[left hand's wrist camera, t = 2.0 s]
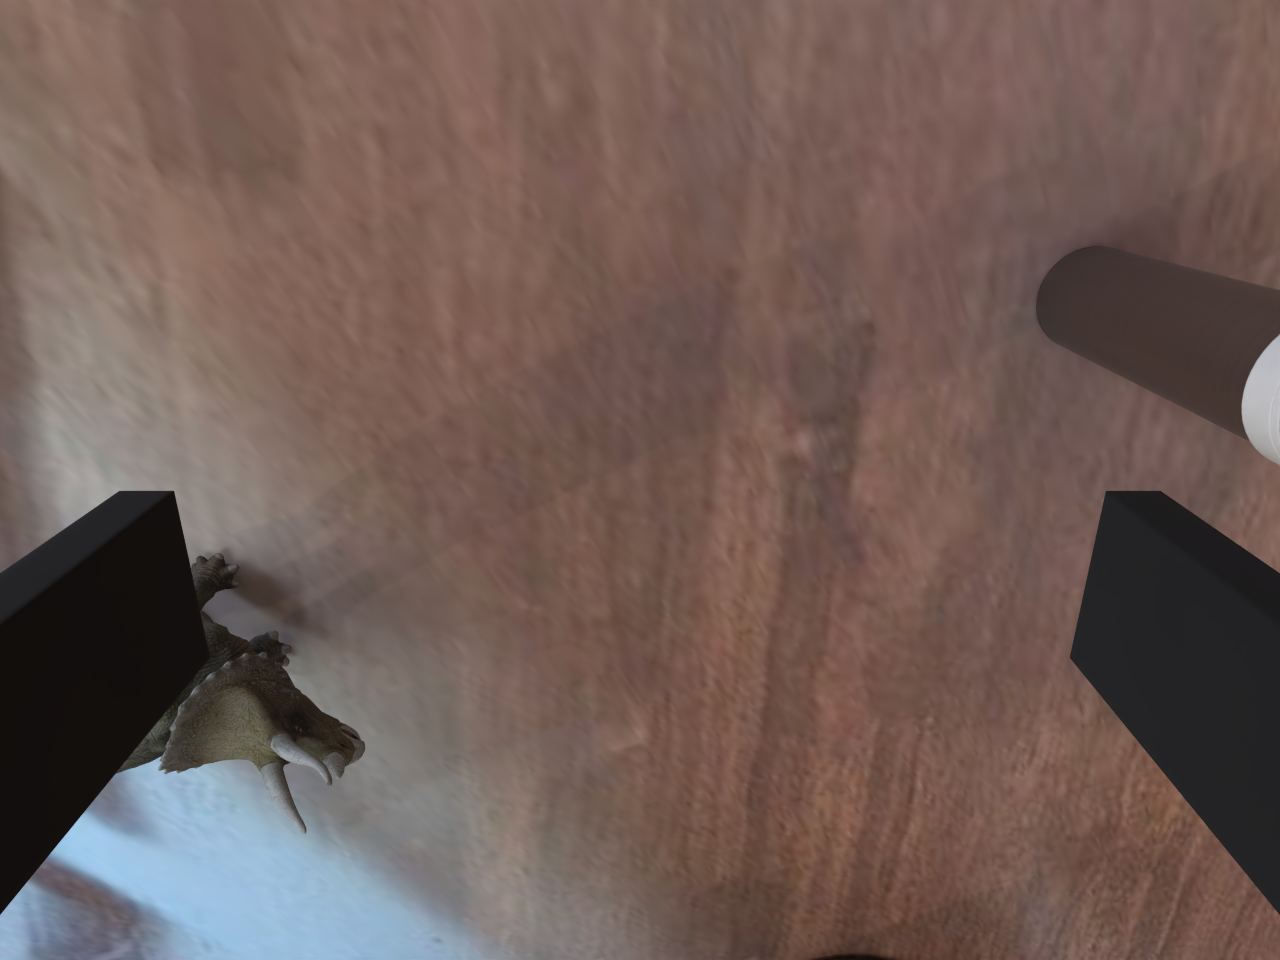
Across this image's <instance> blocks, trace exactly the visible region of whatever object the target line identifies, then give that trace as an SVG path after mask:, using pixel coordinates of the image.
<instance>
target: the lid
mask: <svg viewBox="0 0 1280 960" xmlns="http://www.w3.org/2000/svg"><path fill="white" fill-rule="evenodd" d="M1242 420H1243V425H1244V428H1245V431H1246V434H1247V436H1248V438H1249V440H1250V442H1251V443H1252V444H1253V446H1254V447H1255V448H1256V449H1257V450H1258V451H1259V452H1260V453H1261V454H1262V455H1263V456H1265V457H1266V458H1267V459H1269V460H1271V461H1272V462H1274V463H1276V464H1278V465H1280V335H1279V336H1277V337H1276V338H1275V339H1274V340H1273V341H1272V342H1271V343H1270V345H1269V346H1268V347H1267V348H1266V349H1265V350H1264V352H1263V353H1262V354H1261V356H1260V357H1259V358H1258V360H1257V361H1256V363H1255V365H1254V367H1253V368H1252V370H1251V372H1250V375H1249V377H1248V379H1247V382H1246V385H1245V389H1244V392H1243V398H1242Z"/></svg>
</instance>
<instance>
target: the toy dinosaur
mask: <svg viewBox="0 0 1280 960" xmlns="http://www.w3.org/2000/svg"><path fill="white" fill-rule="evenodd" d="M191 569H192V573H193V581H194V586H195V590H196V595H197V599H198V604H199V609H200V613H201V618H202V622H203V627H204V632H205V636H206V641H207V645H208V650H209V655H210V658H209V660H208V661H207V662H206V663H205V665H204V666H203V667H202V668H201V670H200V671H199V672H198V673H197V674H196V676H195V677H194V678H193V679H192V681H191V682H190V683H189V684H188V685H187V687H186V688H185V689H184V690H183V692H182V693H181V694H180V695H179V696H178V698H177V699H176V700H175V701H174V703H173V704H172V705H171V706H170V707H169V709H168V710H167V711H166V712H165V714H164V715H163V716H162V717H161V718H160V720H159V721H158V722H157V723H156V725H155V726H154V727H153V728H152V729H151V731H150V732H149V733H148V734H147V736H146V737H145V738H144V739H143V741H142V742H141V743H140V744H139V745H138V747H137V748H136V749H135V750H134V752H133V753H132V754H131V755H130V756H129V758H128V759H127V760H126V761H125V763H124V764H123V765H122V766H121V767H120V769H119V770H118V771H117V772H116V773H119V772H122V771H124V770H127V769H131V768H135V767H138V766H140V765H143V764H146V763H149V762H151V761H153V760H155V759H157V758H159V757H161V756H162V757H161V759H160V761H162V763H161V765H160V766H159V768H158V771H160V770H164V769H166V770H165V772H164V774H167V773H170V772H172V771H175V770H177V773H180V772H182V771H185V770H187V769H189V768H198V767H200V766H202V765H203V764H207V763H214V762H218V761H222V760H231V759H243V760H250V761H252V762H253V763H254V764H255V765H256V766H257V768H258V770H259V771H260V772H261V774H262V776H263V779H264V781H265V784H266V786H267V788H268V790H269V792H270V794H271V796H272V798H273V800H274V801H275V803H276V804H277V806H278V807H279V809H280V810H281V811H282V812H283V813H284V814H285V815H286V816H287V817H288V818H289V819H290V820H291V822H292V823H293V824H294V825H295V826H296V827H297V828H298V829H299V830H300V831H301V832H302V833H304V834H305V833H306V826H305V824H304V822H303V820H302V818H301V817H300V815H299V813H298V811H297V809H296V806H295V804H294V802H293V799H292V796H291V794H290V791H289V788H288V785H287V782H286V778H285V775H284V771H283V766H284V765H286V764H288V763H290V762H292V763H295V764H300V765H305V766H310V767H312V768H314V769H316V770H317V771H318V772H319V773H320V774H321V775H322V777H323V778H324V780H325V782H326V784H327V786H328V787H332V778H331V775H330V773H331V774H332V775H333V777H334V778H336V779H339V778H340V777H341V776H342V775H343V773H344V768H345V766H347V765H349V764H351V763H354V762H355V761H357V760H359V759H360V758H361V757H362V755H363V753H364V751H365V743H364V741H361V739H360V736H359V735H358V733H357V732H356V731H355V730H354V729H353V728H351V727H349V726H348V725H346V724H343V723H340V722H339V720H338V719H336V718H333V717H331V716H329V715H327V714H325V713H323V712H322V711H321V710H320V709H319V708H318V707H317V706H316V705H315V704H314V703H313V702H312V701H311V700H310V699H309V698H308V697H307V696H305V695H304V694H302V693H301V692H300V690H298V689H297V688H295V686H294V685H293V683H292V681H291V679H290V677H289V675H288V673H287V672H286V671H285V670H284V669H283V668H282V666H287V665H288V664H289V659H288V658H287V656H286V654H287V653H289V652H290V651H291V647H290V646H289V645H286V644H283V643H279V642H278V632H276V631H271V632H267V633H265V634H264V635H259V636H256V637H254V638H253V639H252V640H251V641H250V642H248V641H247V640H245V639H242V638H240V637H237V636H235V635H232V634H230V633H229V631H228V629H227V628H226V627H224V626H221V625H219V624H217V623H214V622H213V621H212V620H211V618H210V617H209V616H208V615H207V614H206V613H204V612H202V611H201V610H202V608H203V606H204V605H205V604H206V602H207V601H209V600H210V599H211V598H212V597H213V596H214V594H215V593H216V592H218V591H221V590H224V589H231V588H235V587H237V586H238V585H239V582H238V581H237V580H236V579H235V578H234V577H233V575H234V574H235V573H236V572H237V571H238V569H239V566H238V565H233V564H230V565H226V564H225V561H224V556H223V555H222V554H219V553H216V554H215V555H214V556H213V557H211V558H210V560H209V561H208V560H207V559H206V558H205V557H203V556H198V557H197V561H196V563H194V564H192V567H191Z"/></svg>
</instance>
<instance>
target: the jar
mask: <svg viewBox="0 0 1280 960" xmlns="http://www.w3.org/2000/svg"><path fill="white" fill-rule="evenodd" d="M1036 309H1037V317H1038V321H1039V323H1040V326H1041V328H1042V330H1043V331H1044V333H1045V334H1046V335H1047V336H1048V337H1049V338H1050V339H1051V340H1052V341H1054V342H1055V343H1057V344H1059V345H1061V346H1063V347H1065V348H1067V349H1069V350H1071V351H1073V352H1075V353H1077V354H1079V355H1081V356H1083V357H1085V358H1087V359H1089V360H1091V361H1093V362H1094V363H1096V364H1098V365H1100V366H1102V367H1104V368H1106V369H1108V370H1110V371H1112V372H1114V373H1116V374H1118V375H1120V376H1122V377H1124V378H1126V379H1128V380H1130V381H1132V382H1134V383H1136V384H1138V385H1140V386H1142V387H1144V388H1146V389H1148V390H1150V391H1152V392H1153V393H1155V394H1157V395H1159V396H1161V397H1163V398H1165V399H1167V400H1169V401H1171V402H1173V403H1175V404H1177V405H1179V406H1181V407H1183V408H1185V409H1187V410H1189V411H1191V412H1193V413H1195V414H1197V415H1199V416H1201V417H1203V418H1205V419H1207V420H1209V421H1211V422H1213V423H1214V424H1216V425H1218V426H1220V427H1222V428H1224V429H1226V430H1228V431H1230V432H1232V433H1234V434H1236V435H1238V436H1240V437H1242V438H1244V439H1246V440H1248V441H1250V440H1249V438H1248V436H1247V434H1246V431H1245V428H1244V425H1243V420H1242V398H1243V392H1244V389H1245V385H1246V382H1247V379H1248V377H1249V375H1250V372H1251V370H1252V368H1253V367H1254V365H1255V363H1256V361H1257V360H1258V358H1259V357H1260V356H1261V354H1262V353H1263V352H1264V350H1265V349H1266V348H1267V347H1268V346H1269V345H1270V343H1271V342H1272V341H1273V340H1274V339H1275V338H1276V337H1277V336H1279V335H1280V290H1277V289H1273V288H1269V287H1265V286H1261V285H1257V284H1253V283H1249V282H1245V281H1241V280H1237V279H1233V278H1229V277H1225V276H1221V275H1217V274H1213V273H1208V272H1204V271H1200V270H1196V269H1192V268H1188V267H1184V266H1180V265H1176V264H1172V263H1168V262H1164V261H1160V260H1156V259H1152V258H1148V257H1144V256H1140V255H1136V254H1132V253H1128V252H1124V251H1120V250H1116V249H1112V248H1107V247H1088V248H1084V249H1081V250H1078V251H1075V252H1073V253H1071V254H1069V255H1068V256H1066V257H1065V258H1063V259H1062V260H1060V261H1059V262H1058V263H1057V264H1056V265H1055V266H1054V267H1053V268H1052V269H1051V270H1050V272H1049V273H1048V274H1047V276H1046V277H1045V279H1044V280H1043V282H1042V285H1041V287H1040V290H1039V293H1038V297H1037V306H1036Z"/></svg>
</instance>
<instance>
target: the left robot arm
mask: <svg viewBox="0 0 1280 960" xmlns="http://www.w3.org/2000/svg"><path fill="white" fill-rule="evenodd" d="M209 658H210V655H209V650H208V645H207V641H206V636H205V632H204V627H203V622H202V618H201V613H200V609H199V604H198V599H197V595H196V590H195V586H194V581H193V576H192V572H191V567H190V563H189V558H188V553H187V549H186V544H185V539H184V535H183V530H182V526H181V521H180V516H179V512H178V507H177V503H176V498H175V493H174V491H119V492H117V493H116V494H114V495H113V496H112V497H110V498H109V499H107V500H106V501H104V502H103V503H101V504H100V505H99V506H97V507H96V508H94V509H93V510H91V511H90V512H88V513H87V514H86V515H84V516H83V517H81V518H80V519H78V520H77V521H75V522H74V523H72V524H71V525H70V526H68V527H67V528H65V529H64V530H62V531H61V532H59V533H58V534H57V535H55V536H54V537H52V538H51V539H49V540H48V541H46V542H45V543H44V544H42V545H41V546H39V547H38V548H36V549H35V550H33V551H32V552H31V553H29V554H28V555H26V556H25V557H23V558H22V559H20V560H19V561H17V562H16V563H15V564H13V565H12V566H10V567H9V568H7V569H6V570H4V571H3V572H2V573H0V914H1V913H2V912H3V911H4V909H5V908H6V907H7V906H8V905H9V903H10V902H11V901H12V900H13V898H14V897H15V896H16V895H17V894H18V892H19V891H20V890H21V889H22V887H23V886H24V885H25V884H26V883H27V881H28V880H29V879H30V878H31V876H32V875H33V874H34V873H35V872H36V870H37V869H38V868H39V867H40V865H41V864H42V863H43V862H44V860H45V859H46V858H47V857H48V856H49V854H50V853H51V852H52V851H53V849H54V848H55V847H56V846H57V845H58V843H59V842H60V841H61V840H62V838H63V837H64V836H65V835H66V834H67V832H68V831H69V830H70V829H71V827H72V826H73V825H74V824H75V823H76V821H77V820H78V819H79V818H80V816H81V815H82V814H83V813H84V812H85V810H86V809H87V808H88V807H89V805H90V804H91V803H92V802H93V801H94V799H95V798H96V797H97V796H98V794H99V793H100V792H101V791H102V789H103V788H104V787H105V786H106V785H107V783H108V782H109V781H110V780H111V778H112V777H113V776H114V775H115V774H116V772H117V771H118V770H119V769H120V767H121V766H122V765H123V764H124V763H125V761H126V760H127V759H128V758H129V756H130V755H131V754H132V753H133V752H134V750H135V749H136V748H137V747H138V745H139V744H140V743H141V742H142V741H143V739H144V738H145V737H146V736H147V734H148V733H149V732H150V731H151V729H152V728H153V727H154V726H155V725H156V723H157V722H158V721H159V720H160V718H161V717H162V716H163V715H164V714H165V712H166V711H167V710H168V709H169V707H170V706H171V705H172V704H173V703H174V701H175V700H176V699H177V698H178V696H179V695H180V694H181V693H182V692H183V690H184V689H185V688H186V687H187V685H188V684H189V683H190V682H191V681H192V679H193V678H194V677H195V676H196V674H197V673H198V672H199V671H200V670H201V668H202V667H203V666H204V665H205V663H206V662H207V661H208V660H209ZM1070 658H1071V660H1072V661H1073V662H1074V663H1075V665H1076V666H1077V667H1078V668H1079V670H1080V671H1081V672H1082V673H1083V674H1084V676H1085V677H1086V678H1087V679H1088V681H1089V682H1090V683H1091V684H1092V685H1093V687H1094V688H1095V689H1096V690H1097V692H1098V693H1099V694H1100V695H1101V696H1102V698H1103V699H1104V700H1105V701H1106V703H1107V704H1108V705H1109V706H1110V707H1111V709H1112V710H1113V711H1114V712H1115V714H1116V715H1117V716H1118V717H1119V718H1120V720H1121V721H1122V722H1123V723H1124V725H1125V726H1126V727H1127V728H1128V729H1129V731H1130V732H1131V733H1132V734H1133V736H1134V737H1135V738H1136V739H1137V741H1138V742H1139V743H1140V744H1141V745H1142V747H1143V748H1144V749H1145V750H1146V752H1147V753H1148V754H1149V755H1150V756H1151V758H1152V759H1153V760H1154V761H1155V763H1156V764H1157V765H1158V766H1159V767H1160V769H1161V770H1162V771H1163V772H1164V774H1165V775H1166V776H1167V777H1168V778H1169V780H1170V781H1171V782H1172V783H1173V785H1174V786H1175V787H1176V788H1177V789H1178V791H1179V792H1180V793H1181V794H1182V796H1183V797H1184V798H1185V799H1186V801H1187V802H1188V803H1189V804H1190V805H1191V807H1192V808H1193V809H1194V810H1195V812H1196V813H1197V814H1198V815H1199V816H1200V818H1201V819H1202V820H1203V821H1204V823H1205V824H1206V825H1207V826H1208V827H1209V829H1210V830H1211V831H1212V832H1213V834H1214V835H1215V836H1216V837H1217V838H1218V840H1219V841H1220V842H1221V843H1222V845H1223V846H1224V847H1225V848H1226V849H1227V851H1228V852H1229V853H1230V854H1231V856H1232V857H1233V858H1234V859H1235V860H1236V862H1237V863H1238V864H1239V865H1240V867H1241V868H1242V869H1243V870H1244V872H1245V873H1246V874H1247V875H1248V876H1249V878H1250V879H1251V880H1252V881H1253V883H1254V884H1255V885H1256V886H1257V887H1258V889H1259V890H1260V891H1261V892H1262V894H1263V895H1264V896H1265V897H1266V898H1267V900H1268V901H1269V902H1270V903H1271V905H1272V906H1273V907H1274V908H1275V909H1276V911H1277V912H1278V913H1279V914H1280V573H1278V572H1277V571H1276V570H1274V569H1273V568H1271V567H1270V566H1268V565H1267V564H1265V563H1264V562H1263V561H1261V560H1260V559H1258V558H1257V557H1255V556H1254V555H1252V554H1251V553H1249V552H1248V551H1247V550H1245V549H1244V548H1242V547H1241V546H1239V545H1238V544H1236V543H1235V542H1234V541H1232V540H1231V539H1229V538H1228V537H1226V536H1225V535H1223V534H1222V533H1221V532H1219V531H1218V530H1216V529H1215V528H1213V527H1212V526H1210V525H1209V524H1208V523H1206V522H1205V521H1203V520H1202V519H1200V518H1199V517H1197V516H1196V515H1194V514H1193V513H1192V512H1190V511H1189V510H1187V509H1186V508H1184V507H1183V506H1181V505H1180V504H1179V503H1177V502H1176V501H1174V500H1173V499H1171V498H1170V497H1168V496H1167V495H1166V494H1164V493H1163V492H1161V491H1106V493H1105V498H1104V503H1103V507H1102V512H1101V516H1100V521H1099V526H1098V530H1097V535H1096V539H1095V544H1094V549H1093V553H1092V558H1091V562H1090V567H1089V572H1088V576H1087V581H1086V586H1085V590H1084V595H1083V599H1082V604H1081V609H1080V613H1079V618H1078V622H1077V627H1076V632H1075V636H1074V641H1073V645H1072V650H1071V655H1070ZM829 960H880V959H872V958H837V959H829Z"/></svg>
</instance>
